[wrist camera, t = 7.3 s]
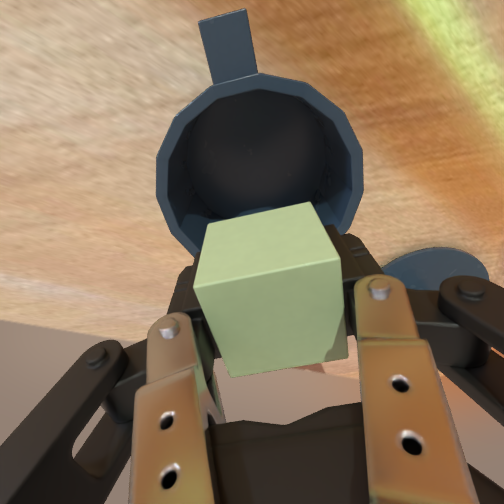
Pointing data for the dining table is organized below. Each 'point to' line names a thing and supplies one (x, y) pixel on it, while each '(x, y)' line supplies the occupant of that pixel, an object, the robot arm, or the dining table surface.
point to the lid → (433, 267)
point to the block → (272, 291)
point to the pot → (254, 145)
